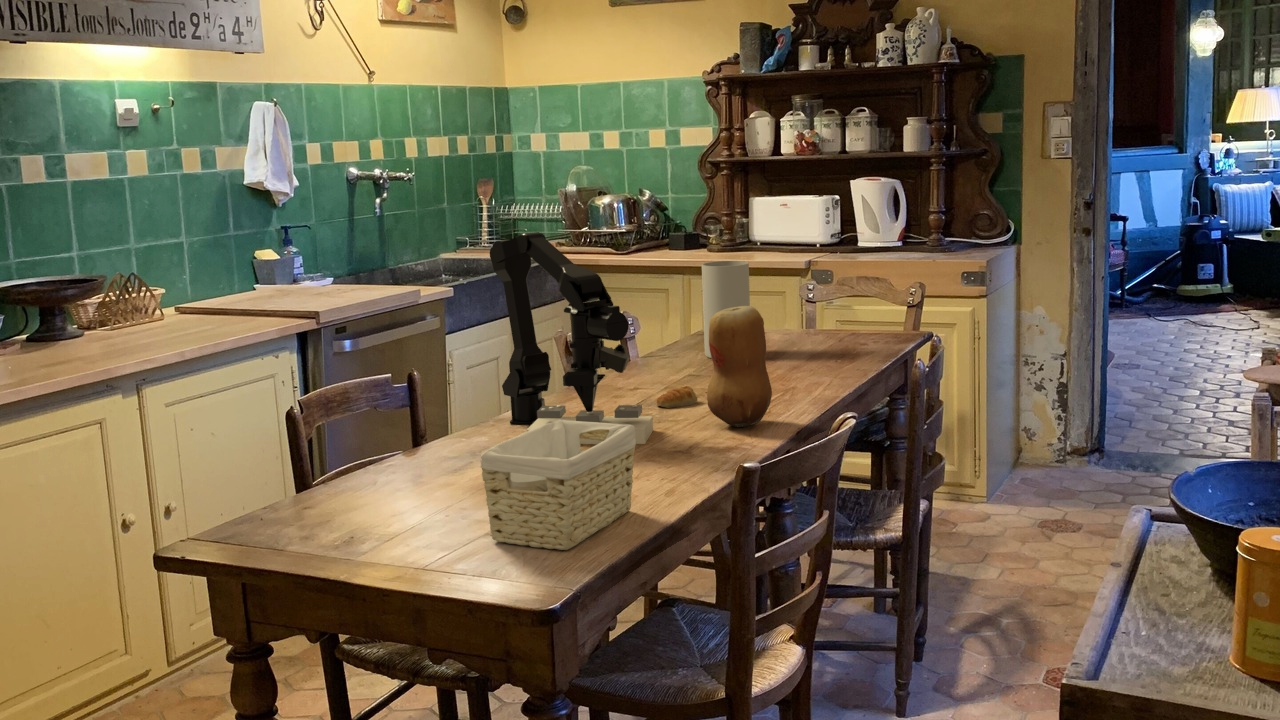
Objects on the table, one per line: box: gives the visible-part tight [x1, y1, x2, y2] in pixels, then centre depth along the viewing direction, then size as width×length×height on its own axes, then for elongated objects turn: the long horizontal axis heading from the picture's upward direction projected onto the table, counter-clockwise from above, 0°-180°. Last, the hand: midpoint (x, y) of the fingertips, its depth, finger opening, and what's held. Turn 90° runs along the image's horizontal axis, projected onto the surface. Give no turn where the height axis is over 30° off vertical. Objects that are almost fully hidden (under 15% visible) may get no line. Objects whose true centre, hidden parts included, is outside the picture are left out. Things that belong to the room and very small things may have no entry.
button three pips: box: [537, 404, 567, 418], centre depth 249 cm, size 5×5×2 cm
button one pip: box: [575, 409, 605, 423], centre depth 248 cm, size 5×5×2 cm
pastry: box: [656, 385, 698, 409], centre depth 275 cm, size 9×7×4 cm
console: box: [526, 415, 654, 445], centre depth 249 cm, size 24×11×3 cm, turn 80°
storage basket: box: [480, 420, 637, 551], centre depth 193 cm, size 24×16×15 cm
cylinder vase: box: [701, 260, 751, 360], centre depth 326 cm, size 12×12×25 cm
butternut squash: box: [706, 305, 773, 428], centre depth 250 cm, size 14×13×25 cm
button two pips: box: [614, 404, 643, 418], centre depth 247 cm, size 5×5×2 cm
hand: (589, 411), depth 248 cm, fingers closed
